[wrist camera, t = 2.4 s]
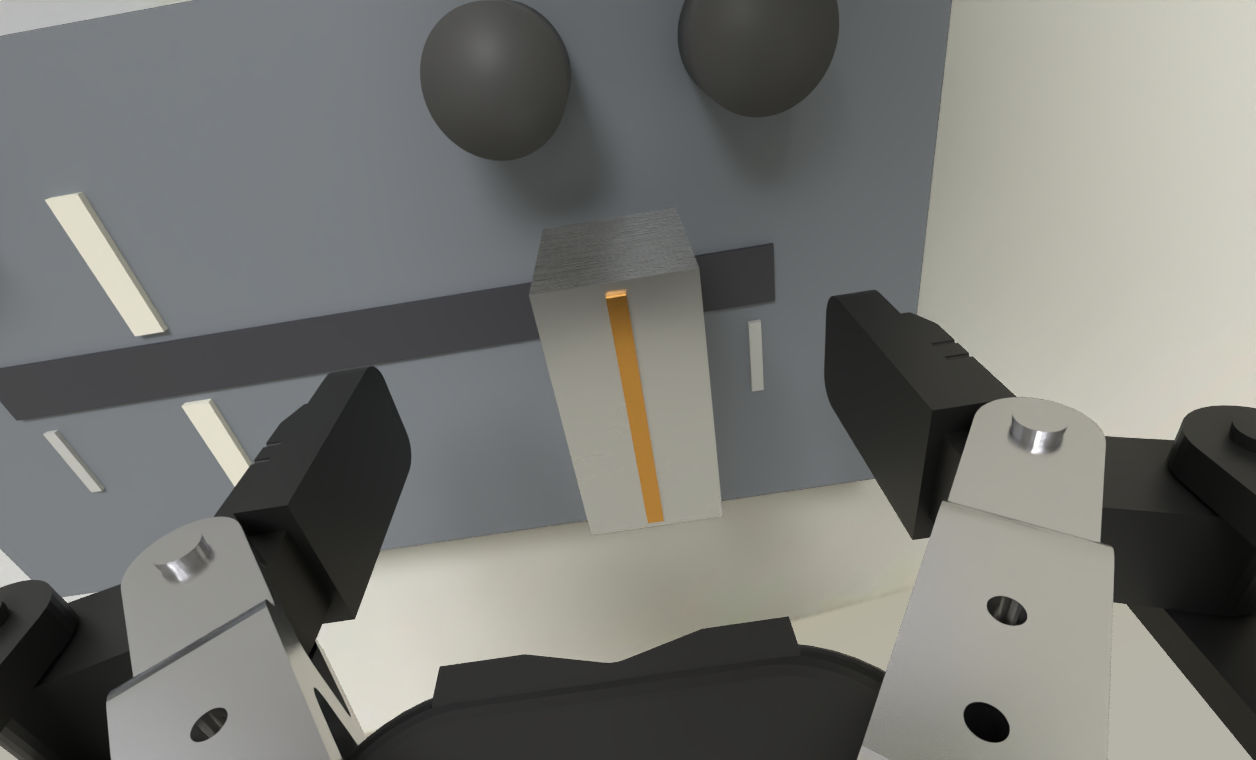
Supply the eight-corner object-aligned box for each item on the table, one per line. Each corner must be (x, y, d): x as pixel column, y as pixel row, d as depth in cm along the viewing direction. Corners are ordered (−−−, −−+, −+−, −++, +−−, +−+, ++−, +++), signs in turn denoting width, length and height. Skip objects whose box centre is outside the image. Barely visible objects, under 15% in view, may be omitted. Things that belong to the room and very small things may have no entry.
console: (904, -120, 13) (1040, -170, 9) (866, 424, 20) (930, 525, 16) (-277, 97, 14) (-615, 137, 10) (105, 537, 21) (-3, 657, 17)
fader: (666, 184, 13) (700, 270, 9) (690, 384, 15) (723, 520, 11) (548, 204, 13) (528, 298, 9) (591, 399, 15) (591, 539, 12)
